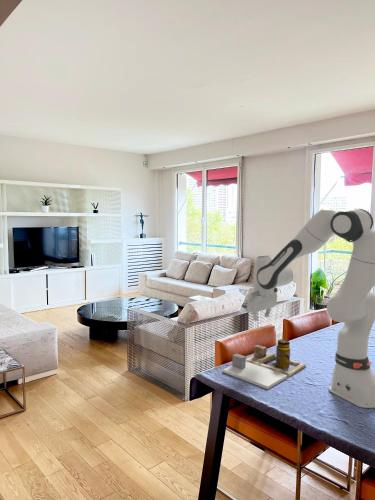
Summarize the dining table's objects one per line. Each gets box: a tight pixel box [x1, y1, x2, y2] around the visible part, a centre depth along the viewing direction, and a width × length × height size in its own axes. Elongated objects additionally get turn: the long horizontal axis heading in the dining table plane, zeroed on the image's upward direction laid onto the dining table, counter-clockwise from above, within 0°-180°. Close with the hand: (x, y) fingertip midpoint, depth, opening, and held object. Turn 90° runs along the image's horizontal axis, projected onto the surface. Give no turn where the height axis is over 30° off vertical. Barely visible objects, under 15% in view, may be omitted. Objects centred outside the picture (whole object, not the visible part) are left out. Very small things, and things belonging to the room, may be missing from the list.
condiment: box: [268, 338, 293, 370], centre depth 173 cm, size 7×8×12 cm
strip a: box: [246, 344, 307, 377], centre depth 176 cm, size 22×15×6 cm, turn 46°
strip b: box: [222, 353, 288, 390], centre depth 163 cm, size 22×15×6 cm, turn 46°
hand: (261, 318), depth 180 cm, fingers open, 8 cm apart
